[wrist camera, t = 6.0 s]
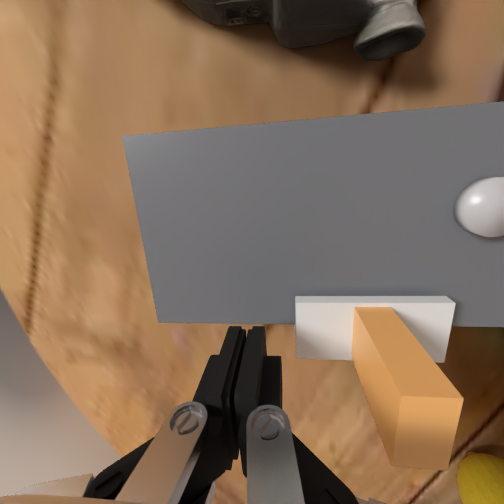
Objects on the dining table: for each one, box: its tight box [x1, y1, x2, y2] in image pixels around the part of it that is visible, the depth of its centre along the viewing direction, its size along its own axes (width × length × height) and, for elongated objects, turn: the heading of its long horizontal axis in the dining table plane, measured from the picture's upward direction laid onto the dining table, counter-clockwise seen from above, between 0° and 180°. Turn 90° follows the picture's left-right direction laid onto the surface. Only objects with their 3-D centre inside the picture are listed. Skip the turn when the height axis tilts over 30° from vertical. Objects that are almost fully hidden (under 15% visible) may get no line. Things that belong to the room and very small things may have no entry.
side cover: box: [294, 296, 464, 471], centre depth 13 cm, size 7×3×13 cm, turn 94°
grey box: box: [122, 102, 504, 327], centre depth 15 cm, size 22×10×8 cm, turn 94°
